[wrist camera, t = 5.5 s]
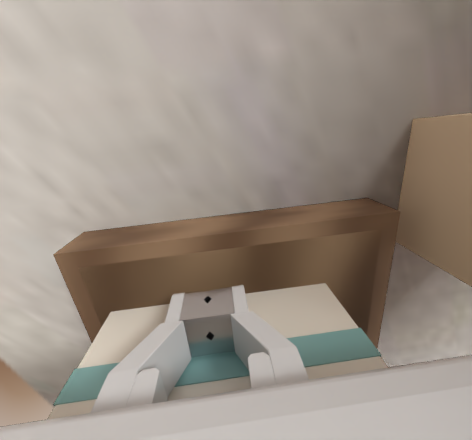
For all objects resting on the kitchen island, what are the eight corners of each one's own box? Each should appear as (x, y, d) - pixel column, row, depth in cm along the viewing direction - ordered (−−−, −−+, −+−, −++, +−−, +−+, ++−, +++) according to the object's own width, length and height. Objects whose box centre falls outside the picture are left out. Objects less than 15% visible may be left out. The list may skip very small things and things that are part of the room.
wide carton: (326, 281, 12) (411, 394, 7) (320, 386, 15) (376, 520, 10) (109, 311, 11) (21, 456, 6) (147, 413, 14) (108, 570, 9)
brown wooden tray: (367, 197, 13) (400, 211, 11) (349, 358, 18) (369, 392, 15) (83, 231, 12) (53, 254, 10) (142, 389, 17) (130, 430, 15)
